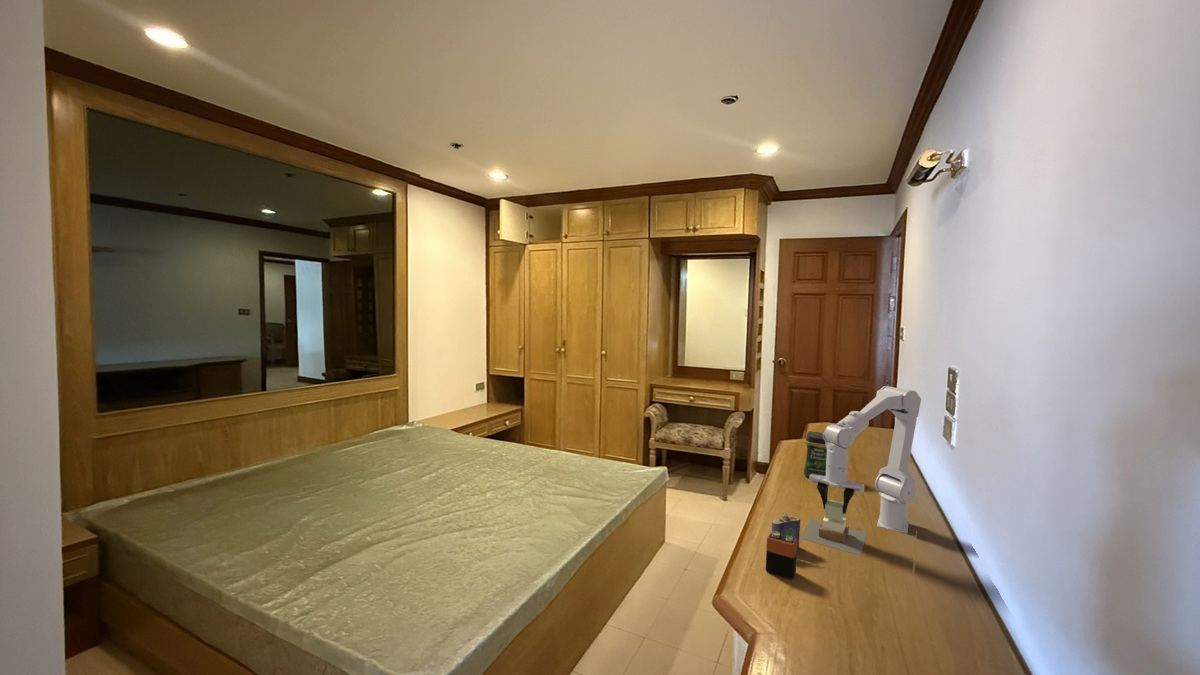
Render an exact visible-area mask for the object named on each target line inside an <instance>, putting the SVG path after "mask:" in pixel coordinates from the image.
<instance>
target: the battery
mask: <svg viewBox="0 0 1200 675" xmlns="http://www.w3.org/2000/svg"><path fill="white" fill-rule="evenodd" d="M765 549H766V550H765V552H766V553H765V555H766V556H765V571H766V572H767V573H770V574H774V575H776V576H780V577H784V578H786V579H791V580H793V579H794V578H795V575H796V571H797V554H798V549H797V539H796V538H793V537H791V536H785V535H781V534H780V533H779V532H777V531H772V532H771V531H770V532H769V534H768V536H766V548H765Z"/></svg>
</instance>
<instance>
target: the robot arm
mask: <svg viewBox="0 0 1200 675" xmlns="http://www.w3.org/2000/svg"><path fill="white" fill-rule="evenodd" d="M921 403H922V398H921V397H920V395H919V394H918V392H917V391H915V390H914V389H903V388H899V387H894V386H890V385H884V386H882V387H881V388H880V389H878V390H877V391H876V395H875V397H874V398H873V399H872V400H870V401H869V403H867V404H866V405H865V407H863V408H862V409H861V410H860V411H857V410H852V411H850V412H848V415H846V416H845V417H843V419H841V420H839V421H838V422H837V423H836V424H829V425H827V426H826V428H824V431H823V432H822V433H823V439H824V440H825V446H826V448H827V458H826V476H821V475H813V474H811V475H810V476H809V478H808V479H809V480H808V483H817V485H816V489H817V491H818V492H819V496H820V497H821V501H822V505H823V506H822V507H823V510H825V504H826V502H827V501H828V500H829V498H828V493H829V486H831V487H835V488H841V489H844V490H843V503H844V505H843V514H844V515H845V514H846V513H847V511H848V506H849V504H850V503H849V502H850V500H851V499H852V498H853V496H854V494H855V492H859V493H860V494H864V492H865V484H862V483H859V482H855V481H851V480H849V479H848V470H849V469H848V468H849V448H850V447H852V445H853V444H854V441H855V439H856V438H857V435H859V434H860V433H862V432H863V431H864V430H865V429H867V428H868V427H869V425H870V422H869V421H871V420H872V419H873V418H875V417H877V416H878V415H879V414H882V413H883V412H884V411H886V410H889V411H890V412H891V413H892V414H893V415H894V417H895V423H894V429H893V434H892V438H891V439H892V440H891V444H890V450H889V456H888V460H887V466H884V467H882V468H880V469H879V472H878V475H877V477H876V478H875V481H874V486H875V489H876V491H877V492H878V495H879V496H880V505H879V507H880V508H879V509H880V510H879V516H878V520H877V525H876V526H877V527H878V528H883V529H887V530H891V531H895V532H899V533H903V534H908V530H909V520H908V503H910V502H912V501H913V500H914V498H915V496H916V488H915V484H916V479H915V478H914V476H913V475H912V474H911V473H910V472H909V470H908V469H909V465H910V459H911V458H910V457H911V453H912V449H913V448H912V447H913V441H914V438H915V437H914V436H915V432H916V425H917V419H918V418H919V412H920V408H921Z"/></svg>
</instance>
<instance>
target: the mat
mask: <svg viewBox="0 0 1200 675" xmlns="http://www.w3.org/2000/svg"><path fill="white" fill-rule="evenodd" d="M822 522H823V520H822V521H821V520H817V519H814V518H813V519H812V518H810V519H809V521H808V522H807V524H806V526H805V527H804V529H803V531H802V532H801V535H799V540H802V541H808V542H811V543H815V544H818V545H821V546H824V547H825V546H826V547H828V548H832V549H836V550H840V551H843V552H846V553H851V554H854V555H858V556H861V555H862V552H863V549H864V545H865V542H866V538H867V536H868V535H867V534H868V532H865V531H861V530H857V529H853V528H849V534H848V537H847V540H846V542H845V544H844V543H840V542H836V541H833V540H829V539H825V538H822V537H819V528H820V526H821V524H822Z"/></svg>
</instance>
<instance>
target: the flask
mask: <svg viewBox="0 0 1200 675" xmlns="http://www.w3.org/2000/svg"><path fill="white" fill-rule="evenodd" d="M800 528H801V519H800V518H799V517H797V516H793V515H792V516H788V513H787V512H785V511H784V512H782V517H781V518H777V519H774V520H772V521H771V531H770V533H771V532H772V531H777V532H779V533H780V534H781V535H785V536H791V537H793V538H796V539H797V550H799V547H800V539H799V538H800V530H801V529H800Z"/></svg>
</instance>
